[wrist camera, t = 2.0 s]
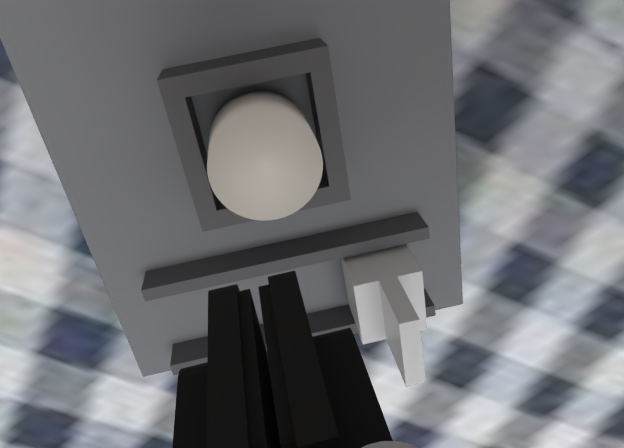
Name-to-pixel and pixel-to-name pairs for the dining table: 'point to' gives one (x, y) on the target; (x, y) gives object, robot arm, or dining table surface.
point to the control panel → (195, 141)
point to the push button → (263, 156)
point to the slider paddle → (389, 304)
